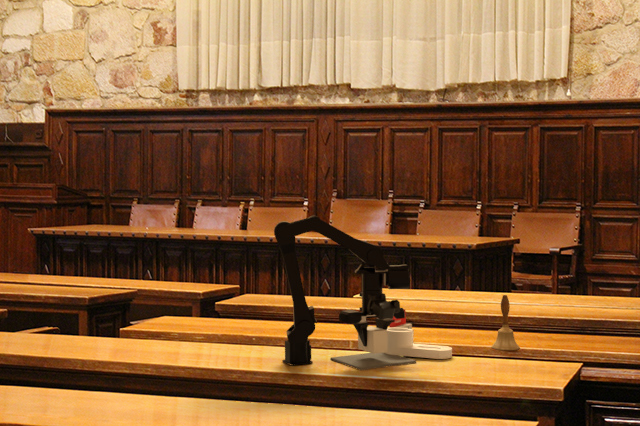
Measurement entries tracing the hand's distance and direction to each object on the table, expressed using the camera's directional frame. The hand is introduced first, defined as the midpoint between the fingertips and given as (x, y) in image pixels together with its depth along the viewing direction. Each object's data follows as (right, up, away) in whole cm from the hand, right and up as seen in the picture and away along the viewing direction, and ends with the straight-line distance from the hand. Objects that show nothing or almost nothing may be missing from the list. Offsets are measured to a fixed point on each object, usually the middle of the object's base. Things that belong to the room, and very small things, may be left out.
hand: (372, 345), depth 226 cm
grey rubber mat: (0, -4, 0) cm, 4 cm away
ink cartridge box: (+11, -4, +30) cm, 32 cm away
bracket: (+13, -4, +8) cm, 16 cm away
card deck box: (0, -1, 0) cm, 1 cm away
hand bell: (+41, -4, +19) cm, 46 cm away
